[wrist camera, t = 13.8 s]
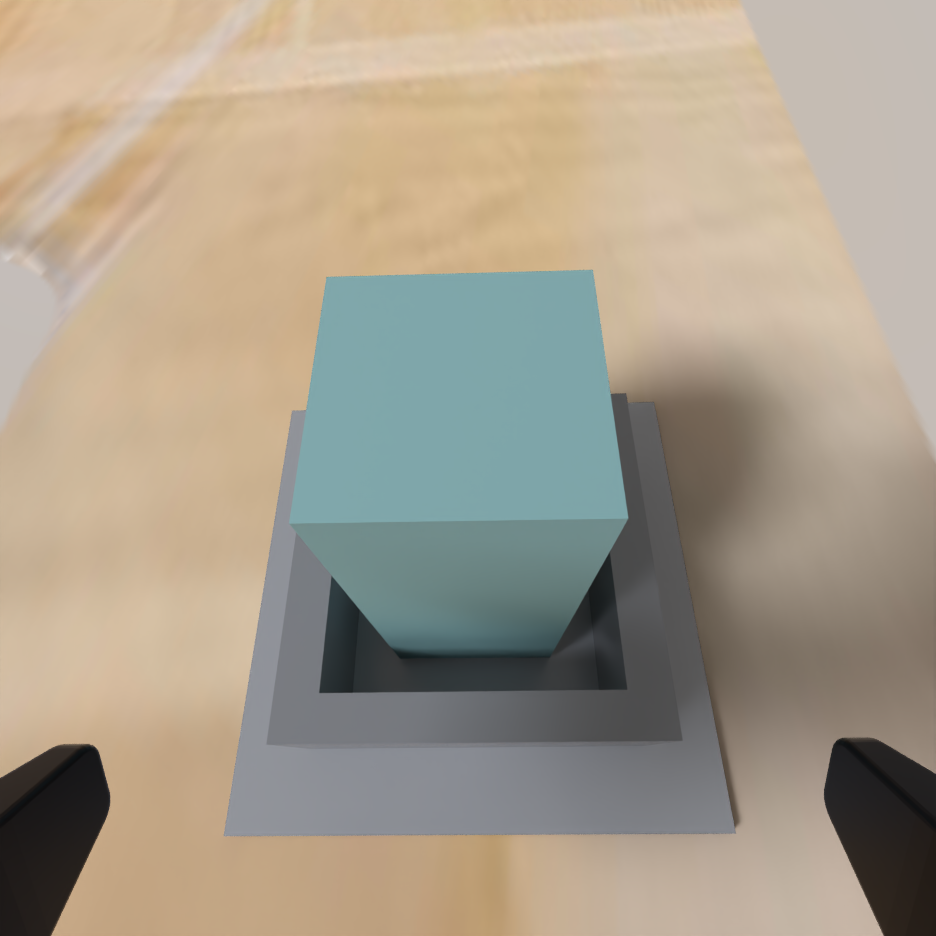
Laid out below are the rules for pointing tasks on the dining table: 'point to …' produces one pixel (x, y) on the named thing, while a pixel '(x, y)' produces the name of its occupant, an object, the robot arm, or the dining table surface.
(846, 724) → the dining table surface
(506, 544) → the teal block
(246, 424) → the dining table surface
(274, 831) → the well
